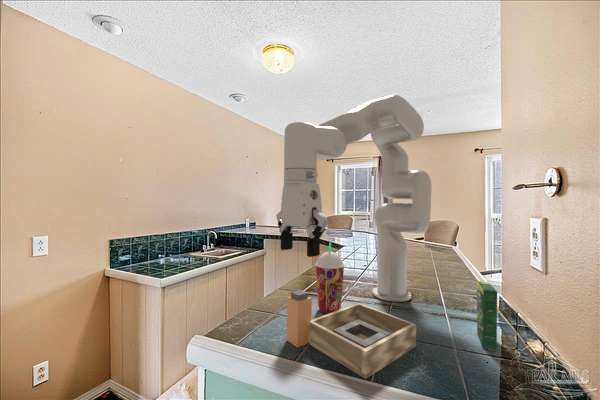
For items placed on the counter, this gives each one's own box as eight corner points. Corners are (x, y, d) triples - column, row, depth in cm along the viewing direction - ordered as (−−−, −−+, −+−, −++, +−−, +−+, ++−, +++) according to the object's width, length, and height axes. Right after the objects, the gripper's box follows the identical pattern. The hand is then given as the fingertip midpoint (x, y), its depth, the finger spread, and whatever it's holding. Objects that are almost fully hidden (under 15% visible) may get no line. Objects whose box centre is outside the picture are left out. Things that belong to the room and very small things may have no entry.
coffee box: (475, 332, 68) (476, 279, 68) (489, 335, 67) (490, 281, 67) (481, 348, 61) (482, 289, 61) (497, 351, 60) (498, 291, 60)
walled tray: (358, 321, 74) (358, 302, 74) (415, 346, 61) (416, 324, 61) (307, 343, 62) (308, 321, 62) (365, 379, 50) (365, 351, 50)
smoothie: (343, 317, 76) (343, 245, 76) (313, 315, 78) (313, 244, 78) (344, 306, 84) (345, 241, 84) (317, 304, 86) (317, 240, 86)
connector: (300, 335, 66) (300, 288, 66) (311, 341, 63) (311, 292, 63) (286, 340, 64) (287, 291, 64) (297, 347, 61) (298, 296, 61)
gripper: (339, 177, 59) (338, 256, 59) (290, 180, 72) (289, 245, 72) (313, 174, 54) (311, 261, 54) (266, 179, 68) (265, 248, 68)
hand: (299, 252), depth 63 cm, fingers open, 9 cm apart
